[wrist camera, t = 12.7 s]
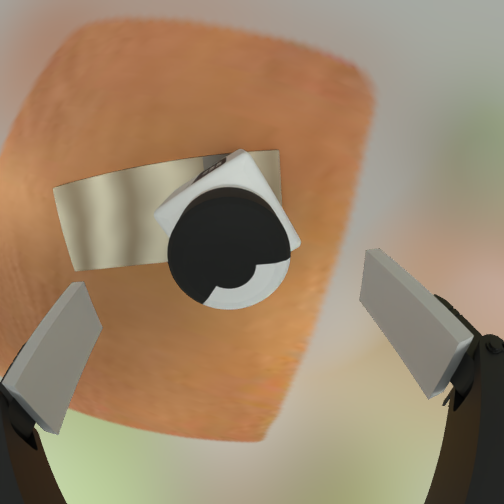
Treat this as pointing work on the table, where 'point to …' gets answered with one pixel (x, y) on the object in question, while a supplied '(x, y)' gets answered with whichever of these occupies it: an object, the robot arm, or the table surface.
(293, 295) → the table surface
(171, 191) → the metal panel
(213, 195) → the container
